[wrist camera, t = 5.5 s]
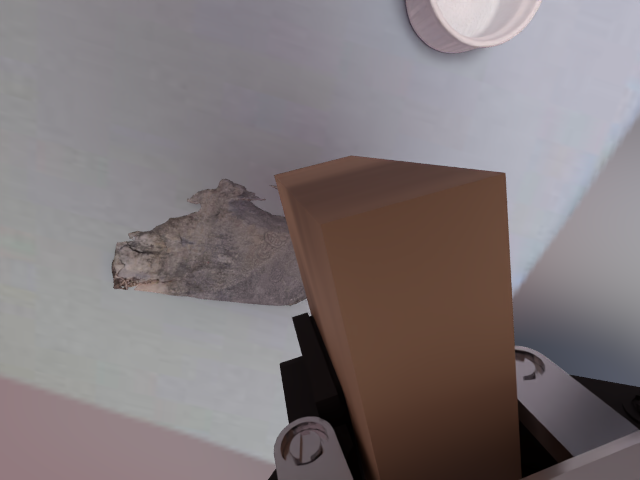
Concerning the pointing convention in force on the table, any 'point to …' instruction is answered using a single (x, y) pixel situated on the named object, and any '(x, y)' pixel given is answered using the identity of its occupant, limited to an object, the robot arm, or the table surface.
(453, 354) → the brown wooden block
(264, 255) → the stone slab
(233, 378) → the table surface
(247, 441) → the table surface
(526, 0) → the ramekin
